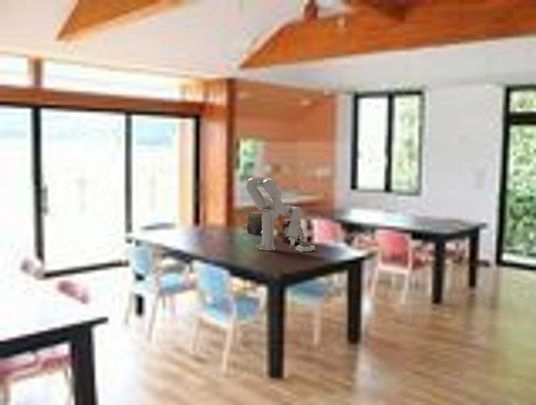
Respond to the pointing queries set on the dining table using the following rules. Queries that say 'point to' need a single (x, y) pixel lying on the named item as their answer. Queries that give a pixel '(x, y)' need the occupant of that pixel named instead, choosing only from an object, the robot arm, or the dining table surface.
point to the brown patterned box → (285, 230)
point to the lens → (292, 243)
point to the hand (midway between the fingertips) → (293, 245)
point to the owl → (254, 223)
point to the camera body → (305, 247)
